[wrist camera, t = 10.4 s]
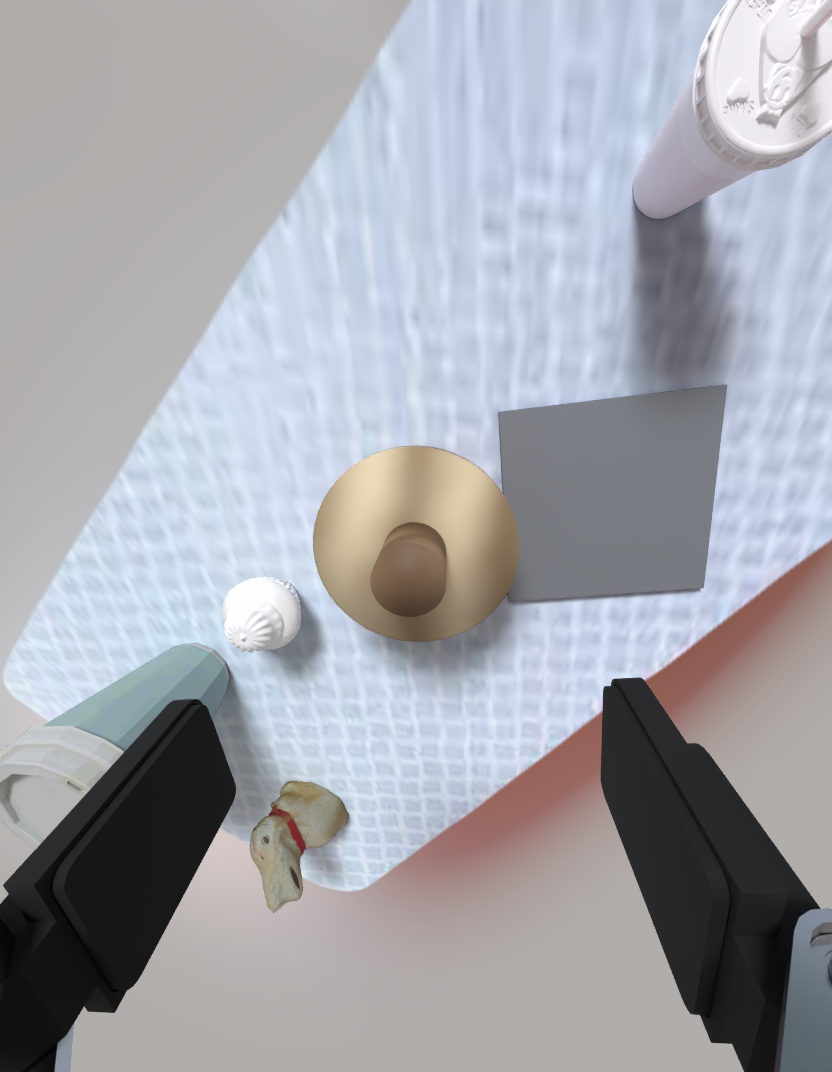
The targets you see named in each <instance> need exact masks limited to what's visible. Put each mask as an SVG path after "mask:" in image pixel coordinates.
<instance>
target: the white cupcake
mask: <svg viewBox="0 0 832 1072" xmlns="http://www.w3.org/2000/svg"><path fill="white" fill-rule="evenodd" d="M222 612H223V619H224V622H225V624H224V627H225V636H226V637H227V638H228V641H229V643H231V644H234V647H235V648H240V649H241V651H245V650H247V651H249V652H253V651H254V650H256V651H260V650H272V649H277V648H280V647H282V646H284V645H286V644H287V643H289V642H290V641H291V640H292V639H293V638H294V637H295V636H296V635H297V633H298V631H299V628H300V624H301V606H300V601H299V598H298V595H297V592H296V590H295V588H293V585H291V583H288V581H286V580H285V579H282V578H276V577H258V578H252V579H249V580H246V581H243V582H241V583H239V584H238V585H236V586H235V587H233V588H232V589H231V590H230V591H229V592H228V594H227V595H226V597H225V599H224V603H223V610H222Z"/></svg>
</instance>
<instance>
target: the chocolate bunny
mask: <svg viewBox="0 0 832 1072" xmlns="http://www.w3.org/2000/svg"><path fill="white" fill-rule="evenodd" d="M271 807H272V810H271V812H270V814H269V816H267V817H265V818H263V819H262V820H261V821H260V822H259V823H258V825H257V826H256V827H255V828H254V830H253V832H252V834H251V839H250V853H251V857H252V859H253V861H254V863H255V864H256V865H257V867H258V869H259V871H260V873H261V876H262V881H263V889H264V893H265V898H266V902H267V906H268V908H269V909H270V910H272V912H273V913H274V912H275V911H277V910H278V909H279V908H281V907H282V906H283V905H284V904H286V903H287V902H290V901H297V900H299V899H300V897H301V895H302V891H303V885H302V875H301V870H300V858H301V856H302V854H303V853H304V850H305V849H307V848H318V847H321V846H323V845H325V844H326V843H328V842H329V841H330V840H331V839H332V838H333V837H334V836H335V834H336V833H337V832H338V831H339V830H340V829H341V828H343V827H344V826H345V824H346V822H347V819H348V816H349V814H348V812H347V811H346V810H345V809H344V804H343V803H342V802H341V800H340V799H339V797H337V796H335V795H333V794H332V793H331V792H330V791H328V790H327V789H326V788H323V787H321V786H319V785H316V784H315V783H311V782H302V781H289V782H287V783H286V784H284V786H283V787H282V788H281V791H280V797H279V798H278V799H277V801H276V802H272V804H271Z"/></svg>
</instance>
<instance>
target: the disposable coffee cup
mask: <svg viewBox="0 0 832 1072" xmlns="http://www.w3.org/2000/svg"><path fill="white" fill-rule="evenodd" d="M229 678H230V676H229V672H228V669H227V666H226V663H225V661H224V660H223V659H222V658H221V657H220V656H219V655H218V654H217V653H216V652H215V651H214V650H212V649H210V648H207V647H205V646H202V645H200V644H198V643H195V644H181V645H179V646H174V647H172V648H170V649H169V650H167V651H165V652H164V653H162V654H160V655H159V656H157V657H155V658H154V659H152V660H150V661H149V662H147V663H146V664H144V665H142V666H141V667H139V668H137V669H136V670H134V671H132V672H131V673H129V674H127V675H126V676H124V677H122V678H121V679H119V680H118V681H116V682H114V683H113V684H111V685H109V686H108V687H106V688H104V689H103V690H101V691H99V692H98V693H96V694H94V695H93V696H91V697H90V698H88V699H86V700H85V701H83V702H81V703H80V704H78V705H76V706H75V707H73V708H71V709H70V710H68V711H66V712H65V713H63V714H62V715H60V716H58V717H57V718H55V719H53V720H52V721H50V722H48V723H47V724H45V725H43V726H42V727H31V728H29V729H28V730H27V731H25V732H24V733H23V734H22V735H20V736H19V737H18V738H16V739H15V740H14V741H13V742H11V743H10V744H9V745H7V748H6V749H5V750H4V751H3V752H1V753H0V820H1V822H2V823H3V825H4V826H5V828H6V829H8V830H9V831H10V832H12V833H13V834H14V835H15V836H17V837H18V838H19V839H21V840H22V841H23V842H24V843H26V844H27V845H28V846H30V847H31V848H32V849H34V850H36V848H37V847H38V846H39V845H40V844H41V843H42V842H43V841H44V840H45V839H46V837H47V836H48V835H49V834H50V833H51V832H52V831H53V830H54V829H55V828H56V826H57V825H58V824H59V823H60V822H61V821H62V820H63V819H64V818H65V817H66V815H67V814H68V813H69V812H70V811H71V810H72V809H73V808H74V807H75V806H76V804H77V803H78V802H79V801H80V800H81V799H82V798H83V797H84V796H85V795H86V794H87V792H88V791H89V790H90V789H91V788H92V787H93V786H94V785H95V784H96V783H97V781H98V780H99V779H100V778H101V777H102V776H103V775H104V774H105V773H106V772H107V770H108V769H109V768H110V767H111V766H112V765H113V764H114V763H115V762H116V761H117V759H118V758H119V757H120V756H121V755H122V754H123V753H124V752H125V751H126V750H127V749H128V747H129V746H130V745H131V744H132V743H133V742H134V741H135V740H136V739H137V738H138V736H139V735H140V734H141V733H142V732H143V731H144V730H145V729H146V728H147V727H148V725H149V724H150V723H151V722H152V721H153V720H154V719H155V718H156V717H157V716H158V714H159V713H160V712H161V711H162V710H163V709H164V708H165V707H166V706H167V705H168V704H169V703H170V702H171V701H173V700H182V699H199V700H200V701H201V702H202V703H203V705H206V706H207V708H208V709H209V712H210V715H211V718H213V717H214V715H215V713H216V711H217V709H218V708H219V706H220V704H221V702H222V700H223V698H224V696H225V693H226V690H227V687H228V684H229V682H228V681H229Z"/></svg>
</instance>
